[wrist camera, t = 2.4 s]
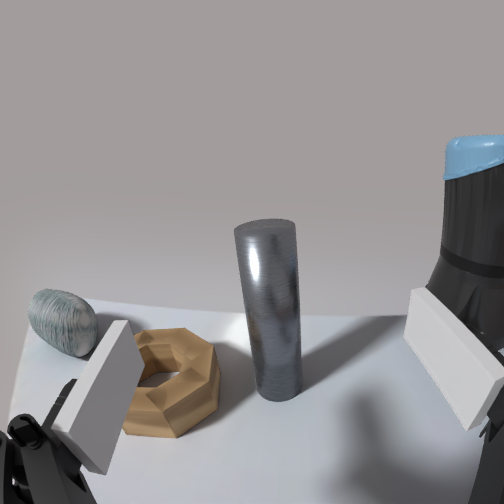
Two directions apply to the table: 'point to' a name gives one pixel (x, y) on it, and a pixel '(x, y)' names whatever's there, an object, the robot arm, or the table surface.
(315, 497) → the table surface
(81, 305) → the grey yarn skein
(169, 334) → the brown thick faceted ring
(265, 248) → the rod
